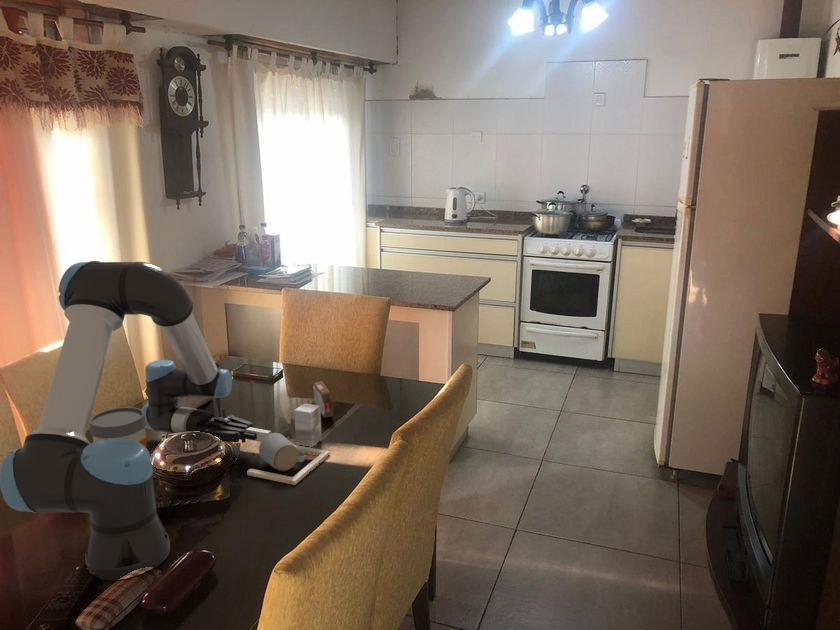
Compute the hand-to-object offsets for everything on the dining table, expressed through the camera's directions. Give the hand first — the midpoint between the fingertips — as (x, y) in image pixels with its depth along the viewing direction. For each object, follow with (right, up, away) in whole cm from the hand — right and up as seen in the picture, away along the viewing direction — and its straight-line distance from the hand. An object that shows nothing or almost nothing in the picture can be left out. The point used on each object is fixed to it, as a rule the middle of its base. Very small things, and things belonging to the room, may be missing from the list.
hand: (269, 437), depth 169 cm
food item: (-32, +2, +36) cm, 49 cm away
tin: (+9, +1, +33) cm, 34 cm away
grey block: (+8, -4, +12) cm, 15 cm away
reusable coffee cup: (-35, -8, -5) cm, 36 cm away
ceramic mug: (+4, -7, 0) cm, 8 cm away
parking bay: (+5, -7, 0) cm, 9 cm away
